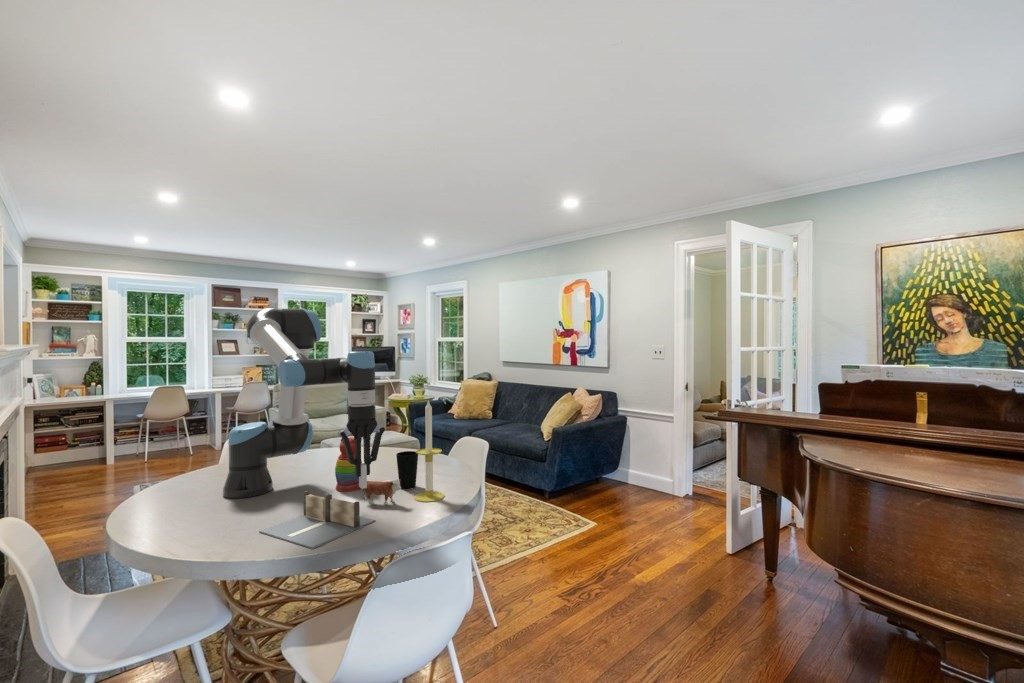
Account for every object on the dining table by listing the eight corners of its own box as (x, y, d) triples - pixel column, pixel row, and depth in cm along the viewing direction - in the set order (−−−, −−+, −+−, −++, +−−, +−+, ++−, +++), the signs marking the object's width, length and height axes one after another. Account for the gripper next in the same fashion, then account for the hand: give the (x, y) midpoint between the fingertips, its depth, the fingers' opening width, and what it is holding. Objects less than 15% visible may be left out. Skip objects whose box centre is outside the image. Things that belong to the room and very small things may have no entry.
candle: (443, 501, 152) (442, 400, 152) (412, 502, 151) (411, 401, 151) (445, 492, 162) (444, 397, 162) (415, 493, 161) (415, 398, 161)
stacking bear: (371, 485, 170) (371, 436, 170) (351, 493, 161) (350, 441, 161) (348, 482, 175) (348, 434, 175) (327, 489, 166) (327, 439, 166)
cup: (423, 486, 169) (422, 452, 169) (407, 491, 163) (407, 456, 163) (407, 482, 173) (407, 450, 173) (391, 488, 167) (391, 454, 167)
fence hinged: (330, 520, 134) (330, 497, 134) (334, 519, 135) (334, 496, 135) (356, 527, 129) (356, 503, 129) (360, 526, 130) (360, 502, 130)
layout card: (259, 532, 128) (259, 530, 128) (324, 508, 147) (324, 507, 147) (312, 549, 117) (312, 547, 117) (375, 521, 136) (375, 519, 136)
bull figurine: (399, 507, 147) (399, 481, 147) (360, 504, 150) (359, 479, 150) (405, 502, 151) (405, 477, 151) (367, 500, 154) (366, 475, 154)
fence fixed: (302, 515, 140) (301, 490, 140) (307, 513, 141) (307, 489, 141) (328, 522, 134) (328, 496, 134) (333, 520, 136) (333, 494, 136)
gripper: (341, 408, 129) (342, 494, 129) (388, 404, 136) (389, 486, 136) (335, 405, 135) (336, 488, 135) (380, 401, 142) (381, 480, 142)
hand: (362, 487), depth 135 cm, fingers closed
